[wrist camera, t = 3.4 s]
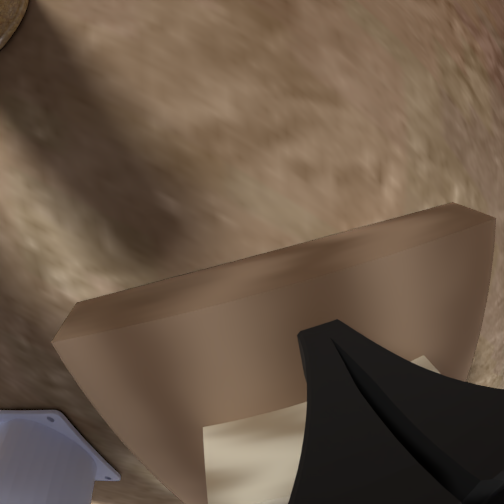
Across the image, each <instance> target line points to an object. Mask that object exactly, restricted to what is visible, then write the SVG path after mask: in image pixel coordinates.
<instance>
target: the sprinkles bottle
mask: <svg viewBox="0 0 504 504" xmlns="http://www.w3.org/2000/svg"><path fill="white" fill-rule="evenodd" d="M28 1H29V0H0V49H1V48H2V47H3V46H4V45H5V44H6V43H7V41H8V40H9V39H10V38H11V36H12V34H13V33H14V32H15V30H16V29H17V27H18V26H19V24H20V22H21V20H22V18H23V16H24V14H25V12H26V9H27V6H28Z"/></svg>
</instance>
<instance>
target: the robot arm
mask: <svg viewBox="0 0 504 504" xmlns="http://www.w3.org/2000/svg"><path fill="white" fill-rule="evenodd" d="M297 338H298V344H299V349H300V355H301V360H302V366H303V371H304V376H305V379H306V382H307V409H306V422H305V431H304V438H303V444H302V450H301V456H300V461H299V466H298V470H297V474H296V477H295V481H294V485H293V488H292V492H291V495H290V499H289V502H288V504H504V390H503V389H496V388H490V387H485V386H480V385H476V384H472V383H468V382H464V381H460V380H457V379H454V378H450V377H447V376H445V375H442V374H439V373H436V372H434V371H431V370H428V369H426V368H424V367H421V366H419V365H417V364H414V363H412V362H410V361H408V360H406V359H404V358H402V357H400V356H398V355H396V354H394V353H393V352H391V351H389V350H387V349H385V348H384V347H382V346H380V345H378V344H377V343H375V342H373V341H372V340H370V339H368V338H367V337H365V336H364V335H362V334H360V333H359V332H357V331H356V330H354V329H353V328H351V327H349V326H348V325H346V324H345V323H343V322H342V321H340V320H338V319H336V320H333V321H330V322H327V323H324V324H321V325H318V326H315V327H311V328H308V329H305V330H302V331H300V332H299V333H298V334H297ZM120 479H121V475H120V474H119V473H118V472H117V471H116V470H115V469H114V468H113V467H112V466H111V465H110V464H109V463H107V462H106V461H105V460H104V459H103V458H102V457H101V456H100V455H99V454H98V452H97V451H96V450H95V449H94V448H93V447H92V446H91V445H90V444H89V443H88V442H87V441H86V440H85V439H84V438H83V437H82V435H81V434H80V433H79V432H78V431H77V430H76V429H75V427H74V426H73V425H72V424H71V423H70V422H69V420H68V419H67V418H66V417H65V416H64V414H63V413H61V412H60V411H58V410H0V504H91V500H92V493H93V488H94V482H95V480H96V481H119V480H120Z"/></svg>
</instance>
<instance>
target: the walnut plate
mask: <svg viewBox="0 0 504 504" xmlns="http://www.w3.org/2000/svg"><path fill="white" fill-rule="evenodd" d="M495 227H496V218H494V217H492V216H489V215H486V214H484V213H481V212H478V211H476V210H473V209H470V208H467V207H465V206H462V205H459V204H456V203H453V202H452V203H449V204H445V205H441V206H438V207H434V208H430V209H427V210H423V211H419V212H416V213H412V214H409V215H405V216H401V217H397V218H394V219H390V220H386V221H383V222H379V223H375V224H372V225H368V226H364V227H361V228H357V229H353V230H350V231H346V232H342V233H338V234H335V235H331V236H327V237H324V238H320V239H316V240H312V241H309V242H305V243H301V244H298V245H294V246H290V247H286V248H283V249H279V250H275V251H271V252H268V253H264V254H260V255H256V256H253V257H249V258H245V259H241V260H238V261H234V262H230V263H226V264H223V265H219V266H215V267H211V268H207V269H204V270H200V271H196V272H192V273H189V274H185V275H181V276H177V277H173V278H170V279H166V280H162V281H158V282H154V283H151V284H147V285H143V286H139V287H135V288H131V289H128V290H124V291H120V292H116V293H112V294H108V295H105V296H101V297H97V298H93V299H89V300H85V301H82V302H78V303H76V305H75V306H74V308H73V309H72V311H71V312H70V314H69V315H68V317H67V318H66V320H65V321H64V323H63V324H62V326H61V327H60V329H59V331H58V332H57V334H56V335H55V337H54V339H53V340H52V342H51V343H52V345H53V347H54V348H55V350H56V352H57V353H58V355H59V357H60V358H61V360H62V361H63V363H64V365H65V366H66V368H67V369H68V371H69V372H70V374H71V375H72V377H73V378H74V380H75V381H76V383H77V384H78V386H79V387H80V388H81V390H82V391H83V393H84V394H85V395H86V397H87V398H88V400H89V401H90V402H91V404H92V405H93V406H94V408H95V409H96V410H97V412H98V413H99V414H100V415H101V417H102V418H103V419H104V421H105V422H106V423H107V424H108V425H109V427H110V428H111V429H112V430H113V432H114V433H115V434H116V435H117V436H118V437H119V439H120V440H121V441H122V442H123V443H124V444H125V445H126V447H127V448H128V449H129V450H130V451H131V452H132V453H133V454H134V455H135V456H136V458H137V459H138V460H139V461H140V462H141V463H142V464H143V465H144V466H145V467H146V468H147V469H148V470H149V471H150V472H151V473H152V474H153V475H154V476H155V477H156V478H157V479H158V480H159V481H160V482H161V483H162V484H163V485H164V486H165V487H166V488H168V489H169V490H170V491H171V492H172V493H173V494H174V495H175V496H176V497H177V498H179V499H180V500H181V501H182V502H183V503H184V504H208V498H207V486H206V473H205V459H204V443H203V427H206V426H212V425H217V424H222V423H227V422H232V421H236V420H241V419H245V418H249V417H253V416H257V415H261V414H265V413H269V412H273V411H277V410H280V409H284V408H287V407H291V406H294V405H297V404H301V403H304V402H307V382H306V379H305V376H304V371H303V366H302V360H301V355H300V349H299V344H298V338H297V334H298V333H299V332H300V331H302V330H305V329H308V328H311V327H315V326H318V325H321V324H324V323H327V322H330V321H333V320H336V319H338V320H340V321H342V322H343V323H345V324H346V325H348V326H349V327H351V328H353V329H354V330H356V331H357V332H359V333H360V334H362V335H364V336H365V337H367V338H368V339H370V340H372V341H373V342H375V343H377V344H378V345H380V346H382V347H384V348H385V349H387V350H389V351H391V352H393V353H394V354H396V355H398V356H400V357H402V358H404V359H406V360H408V361H412V360H415V359H417V358H419V357H421V356H423V355H424V356H425V357H426V358H427V359H428V360H429V361H430V362H431V364H432V365H433V366H434V367H435V368H436V369H437V370H438V371H439V372H440V374H442V375H445V376H447V377H450V378H454V379H457V380H460V381H464V382H466V380H467V377H468V374H469V371H470V367H471V364H472V361H473V357H474V354H475V350H476V346H477V343H478V339H479V335H480V330H481V326H482V322H483V317H484V312H485V307H486V302H487V296H488V290H489V284H490V277H491V270H492V262H493V252H494V241H495Z"/></svg>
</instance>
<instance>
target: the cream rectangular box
mask: <svg viewBox="0 0 504 504" xmlns="http://www.w3.org/2000/svg"><path fill="white" fill-rule="evenodd" d="M410 362H412V363H414V364H417V365H419V366H421V367H424V368H426V369H428V370H431V371H434V372H436V373H439V374H440V372H439V371H438V370H437V369H436V368H435V367H434V366H433V365H432V364H431V362H430V361H429V360H428V359H427V358H426V357H425V356H424V355H423V356H421V357H419V358H417V359H415V360H412V361H410ZM306 409H307V402H304V403H301V404H297V405H294V406H291V407H287V408H284V409H280V410H277V411H273V412H269V413H265V414H261V415H257V416H253V417H249V418H245V419H241V420H236V421H232V422H227V423H222V424H217V425H212V426H206V427H203V443H204V459H205V473H206V486H207V498H208V504H288V502H289V499H290V495H291V492H292V488H293V485H294V481H295V477H296V474H297V470H298V466H299V461H300V456H301V450H302V444H303V438H304V431H305V422H306Z"/></svg>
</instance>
